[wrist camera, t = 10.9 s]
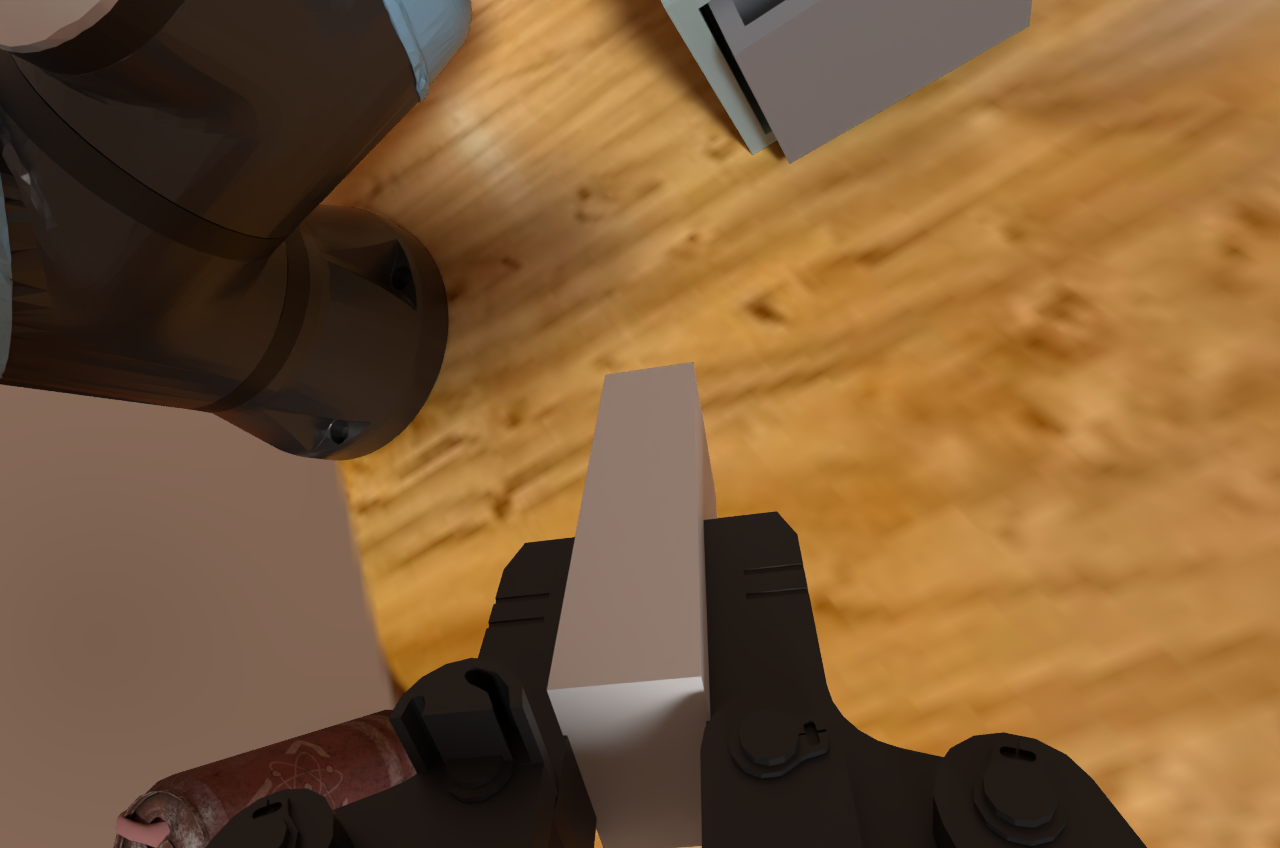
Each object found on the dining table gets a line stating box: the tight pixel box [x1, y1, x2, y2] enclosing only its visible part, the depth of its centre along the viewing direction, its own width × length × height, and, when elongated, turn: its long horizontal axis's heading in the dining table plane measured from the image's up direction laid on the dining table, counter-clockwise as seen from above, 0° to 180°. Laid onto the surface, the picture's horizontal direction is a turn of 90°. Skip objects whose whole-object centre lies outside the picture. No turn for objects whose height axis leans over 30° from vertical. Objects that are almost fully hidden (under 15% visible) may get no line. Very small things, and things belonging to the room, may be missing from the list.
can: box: [114, 710, 417, 848], centre depth 36 cm, size 6×6×14 cm
